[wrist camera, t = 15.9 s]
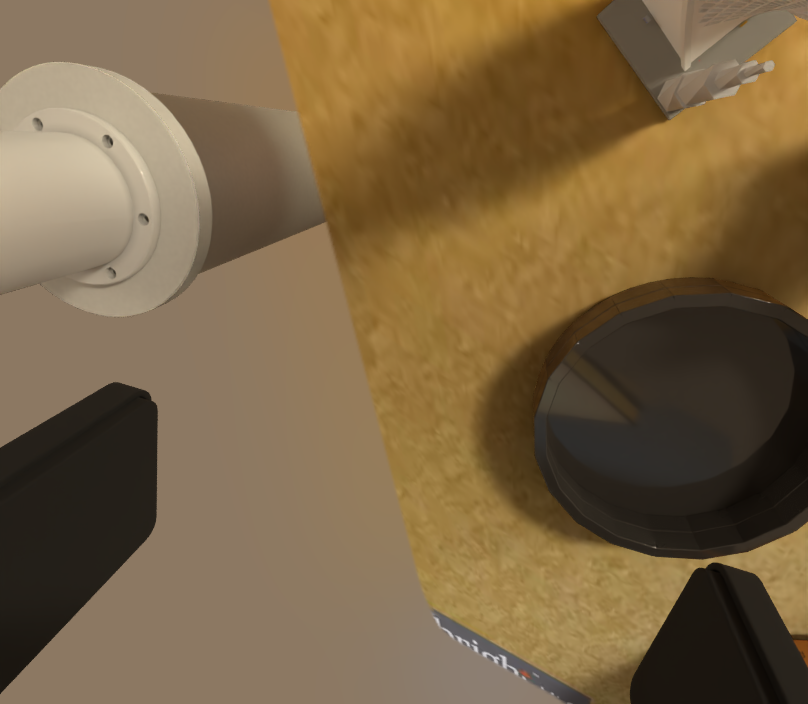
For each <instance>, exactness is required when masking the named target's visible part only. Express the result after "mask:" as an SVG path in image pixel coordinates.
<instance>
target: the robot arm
mask: <svg viewBox="0 0 808 704" xmlns="http://www.w3.org/2000/svg"><path fill="white" fill-rule="evenodd" d="M160 227H161V211H160V202H159V197H158V193H157V190H156V186H155V183H154V180H153V178H152V176H151V174H150V171H149V169H148V167H147V165H146V163H145V162H144V160H143V159H142V157H141V155H140V154H139V152H138V151H137V149H136V148H135V147H134V146H133V145H132V144H131V142H130V141H129V140H128V139H127V138H126V137H125V135H123V134H122V133H121V132H120V131H119V130H117V129H116V128H115V127H114V126H113V125H111V124H110V123H108V122H107V121H105V120H103V119H101V118H100V117H98V116H96V115H94V114H91V113H88V112H85V111H82V110H77V109H69V108H47V109H43V110H39V111H36V112H34V113H32V114H30V115H29V116H27V117H25V118H24V119H23V120H22V121H21V122H20V123H19V124H18V125H17V126H16V127H15V128H14V130H13V131H0V295H1V294H5V293H8V292H12V291H15V290H19V289H22V288H25V287H28V286H32V285H36V284H39V283H42V282H46V281H49V280H53V279H56V278H60V277H63V276H65V277H67V278H69V279H72V280H75V281H77V282H80V283H84V284H90V285H109V284H113V283H116V282H120V281H122V280H125V279H127V278H130V277H132V276H134V275H135V274H136V273H138V272H139V271H140V270H142V269H143V268H144V266H145V265H146V264H147V263H148V262H149V260H150V259H151V257H152V255H153V253H154V251H155V249H156V247H157V243H158V239H159V235H160ZM157 414H158V411H157V405H156V403H154V402H153V401H151V396H150V394H149V393H148V392H147V391H145V390H141V389H138V388H135V387H132V386H128V385H125V384H122V383H118V382H113V383H111V384H108V385H107V386H105V387H103V388H101V389H100V390H98V391H96V392H95V393H93V394H92V395H89V396H88V397H86V398H84V399H83V400H81V401H79V402H78V403H76V404H75V405H72V406H71V407H69V408H67V409H66V410H64V411H62V412H61V413H59V414H57V415H55V416H54V417H52V418H50V419H48V420H47V421H45V422H43V423H42V424H40V425H38V426H37V427H35V428H33V429H31V430H30V431H28V432H26V433H25V434H23V435H21V436H19V437H18V438H16V439H14V440H13V441H11V442H9V443H7V444H6V445H4V446H2V447H1V448H0V694H1V692H2V691H3V690H4V689H5V688H6V687H7V686H8V685H9V684H10V683H11V682H12V681H13V680H14V679H15V678H16V677H17V675H19V673H20V672H21V671H22V670H23V669H24V668H25V667H26V666H27V665H28V664H29V663H30V662H31V661H32V660H33V659H34V658H35V657H36V656H37V655H38V653H39V652H40V651H41V650H42V649H43V648H44V647H45V646H46V645H47V644H48V643H49V642H50V641H51V640H52V639H53V638H54V637H55V635H56V634H57V633H58V632H59V631H60V630H61V629H62V628H63V627H64V626H65V625H66V624H67V623H68V622H69V621H70V620H71V619H72V617H73V616H74V615H75V614H76V613H77V612H78V611H79V610H80V609H81V608H82V607H83V606H84V605H85V604H86V603H87V602H88V601H89V600H90V599H91V597H92V596H93V595H94V594H95V593H96V592H97V591H98V590H99V589H100V588H101V587H102V586H103V585H104V584H105V583H106V582H107V581H108V580H109V578H110V577H111V576H112V575H113V574H114V573H115V572H116V571H117V570H118V569H119V568H120V567H121V566H122V565H123V564H124V563H125V562H126V561H127V559H128V558H129V557H130V556H131V555H132V554H133V553H134V552H135V551H136V550H137V549H138V548H139V546H141V545H142V543H144V542H145V540H146V539H147V538H148V537H149V535H150V534H151V532H152V530H153V528H154V526H155V522H156V509H157V508H156V507H157V506H156V505H157V504H156V503H157V421H158V419H157V417H158V415H157ZM630 701H631V704H808V667H807V665H806V663H805V661H804V659H803V657H802V655H801V654H800V652H799V650H798V648H797V646H796V644H795V643H794V641H793V639H792V637H791V635H790V633H789V631H788V630H787V628H786V626H785V624H784V622H783V620H782V619H781V617H780V615H779V613H778V611H777V609H776V607H775V606H774V604H773V602H772V600H771V598H770V596H769V595H768V593H767V591H766V589H765V587H764V585H763V583H762V582H761V580H760V579H759V578H758V576H756V575H755V574H753V573H750V572H747V571H743V570H740V569H737V568H733V567H730V566H727V565H723V564H720V563H711V564H710V565H708V566H707V568H706V569H704V568H698V569H696V570H695V571H694V572H693V574H692V575H691V577H690V579H689V581H688V582H687V584H686V586H685V588H684V589H683V591H682V593H681V594H680V596H679V598H678V600H677V601H676V603H675V605H674V606H673V608H672V610H671V612H670V613H669V615H668V617H667V619H666V620H665V622H664V624H663V625H662V627H661V629H660V631H659V632H658V634H657V636H656V638H655V639H654V641H653V643H652V644H651V646H650V648H649V650H648V651H647V653H646V655H645V656H644V658H643V660H642V662H641V663H640V665H639V667H638V669H637V670H636V672H635V674H634V676H633V678H632V682H631V687H630Z"/></svg>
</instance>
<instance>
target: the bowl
mask: <svg viewBox="0 0 808 704" xmlns="http://www.w3.org/2000/svg"><path fill="white" fill-rule="evenodd" d="M533 419H534V450H535V458H536V461H537V463H538V466H539V468H540V471H541V473H542V475H543V478H544V480H545V483H546V485H547V488H548V490H549V492H550V493H551V494H552V495H553V497H554V498H555V499H556V500H557V501H558V502H559V503H560V504H561V506H562V507H563V508H564V509H565V510H566V511H567V512H568V514H569V515H570V516H571V517H572V518H573V519H574V520H575V521H576V522H577V523H578V524H580V525H582V526H583V527H585V528H586V529H588V530H590V531H591V532H593V533H595V534H596V535H598V536H599V537H601V538H603V539H604V540H606V541H608V542H609V543H612V544H614V545H617V546H621V547H624V548H627V549H631V550H634V551H637V552H640V553H644V554H647V555H650V556H655V557H668V558H685V559H708V558H714V557H720V556H726V555H732V554H738V553H744V552H749V551H751V550H753V549H756V548H758V547H760V546H763V545H765V544H767V543H770V542H772V541H774V540H777V539H779V538H781V537H784V536H786V535H788V534H791V533H793V532H794V531H797V530H798V529H799V528H800V527H802V526H803V525H804V524H806V523H807V522H808V319H806V318H805V317H803V316H802V315H800V314H798V313H797V312H795V311H794V310H792V309H790V308H789V307H787V306H786V305H784V304H782V303H781V302H779V301H778V300H776V299H774V298H773V297H771V296H770V295H768V294H766V293H765V292H763V291H761V290H759V289H755V288H751V287H747V286H744V285H741V284H738V283H734V282H730V281H724V280H718V279H714V278H694V277H689V278H674V279H666V280H660V281H655V282H649V283H646V284H643V285H639V286H636V287H633V288H629V289H627V290H625V291H622V292H620V293H618V294H616V295H613V296H611V297H609V298H607V299H606V300H604V301H602V302H600V303H599V304H597V305H595V306H594V307H592V308H591V309H590V310H588V311H587V312H586V313H584V314H583V315H582V316H580V317H579V318H578V319H577V320H576V321H575V322H574V323H573V324H572V325H570V326H569V327H568V328H567V329H566V330H565V331H564V333H563V334H562V335H561V336H560V338H559V339H558V340H557V341H556V343H555V344H554V345H553V347H552V349H551V350H550V352H549V354H548V355H547V357H546V358H545V361H544V363H543V366H542V368H541V370H540V373H539V376H538V379H537V383H536V387H535V390H534V393H533Z"/></svg>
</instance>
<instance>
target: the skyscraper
mask: <svg viewBox="0 0 808 704" xmlns="http://www.w3.org/2000/svg"><path fill="white" fill-rule="evenodd" d="M793 14H794V15H795V16H797V17H799V18H802V19H805V20H808V0H614V1H612V2H611V3H610V4H609V5H608V6H607V7H606V8H605V9H604V10H603V11H602V12H600V13H599V14H598V15H597V19H598V20H599V22H600V23H601V24H602V26H603V27H604V29H605V30H606V32H607V33H608V34H609V36H610V37H611V39H612V40H613V42H614V43H615V44H616V46H617V47H618V49H619V50H620V52H621V53H622V54H623V56H624V57H625V59H626V60H627V62H628V63H629V64H630V66H631V67H632V69H633V70H634V72H635V73H636V74H637V76H638V77H639V79H640V80H641V82H642V83H643V84H644V86H645V87H646V89H647V90H648V92H649V93H650V94H651V96H652V97H653V99H654V100H655V102H656V103H657V104H658V106H659V107H660V109H661V110H662V112H663V113H664V114H665V116H666V117H667V119H668V120H671V119H672V118H673V117H675V116H676V115H677V114H678V113H680V112H681V111H682V110H684V109H685V108H689V107H694V106H699V105H703V104H705V102H706V101H709V100H713V99H718V98H723V97H728V96H732V95H735V94H736V92H737V90H738V89H739V87H740V85H741V84H746V83H750V82H755V81H756V79H757V77H758V76H759V74H761V73H764V72H768V71H772V70H773V68H774V66H775V64H774V62H773V61H772V60H771V61H767V62H764V63H762V64H758V63H757V61H756V60H754V61H749V62H745V61H746V60H748V59H749V58H750V57H751V56H753V55H754V54H755V53H757V52H758V51H759V50H760V49H762V48H763V47H764V46H765V45H767V44H768V43H769V42H771V41H772V40H773V39H774V38H776V37H777V36H778V35H780V34H781V33H782V32H783V31H785V30H786V29H787V28H789V27H790V26H791V25H792V24H794V23H795V22H796V21H797V20H796V18H795V17H794V15H793ZM744 62H745V63H744Z"/></svg>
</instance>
